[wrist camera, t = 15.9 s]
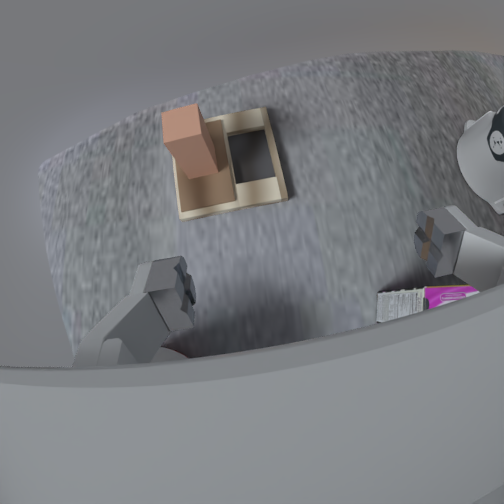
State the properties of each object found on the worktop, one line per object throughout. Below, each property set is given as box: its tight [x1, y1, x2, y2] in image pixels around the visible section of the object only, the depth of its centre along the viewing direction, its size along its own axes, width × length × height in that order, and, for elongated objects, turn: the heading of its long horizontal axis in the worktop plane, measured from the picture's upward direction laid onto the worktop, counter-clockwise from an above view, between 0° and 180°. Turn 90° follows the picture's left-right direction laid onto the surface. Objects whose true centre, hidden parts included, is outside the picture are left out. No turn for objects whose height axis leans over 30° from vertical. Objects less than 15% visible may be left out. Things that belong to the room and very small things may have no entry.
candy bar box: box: [376, 285, 480, 323], centre depth 35 cm, size 11×5×16 cm, turn 89°
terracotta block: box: [162, 104, 219, 179], centre depth 40 cm, size 4×4×12 cm
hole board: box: [172, 107, 288, 222], centre depth 47 cm, size 16×16×2 cm
